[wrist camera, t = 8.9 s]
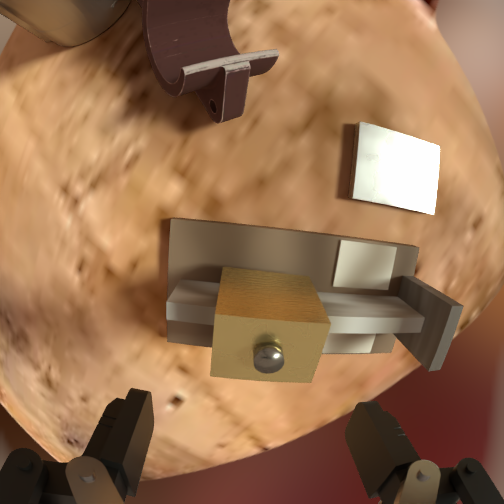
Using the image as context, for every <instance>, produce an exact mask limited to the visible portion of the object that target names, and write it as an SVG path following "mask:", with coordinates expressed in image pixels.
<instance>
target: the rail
mask: <svg viewBox="0 0 504 504" xmlns="http://www.w3.org/2000/svg"><path fill="white" fill-rule="evenodd" d="M418 253H419V247H416V246H414V245H407V244H400V243H393V242H386V241H379V240H372V239H364V238H357V237H349V236H341V235H333V234H326V233H317V232H309V231H301V230H292V229H283V228H275V227H266V226H256V225H247V224H237V223H227V222H217V221H207V220H196V219H185V218H172V219H171V223H170V239H169V258H168V290H167V302H166V319H167V342H172V343H179V344H187V345H195V346H203V347H212V344H213V332H214V320H215V311H216V305H217V299H218V293H219V287H220V281H221V275H222V270H223V267H231V268H239V269H248V270H257V271H265V272H274V273H284V274H293V275H302V276H309V277H310V279H311V281H312V283H313V286H314V288H315V290H316V292H317V294H318V296H319V298H320V300H321V303H322V305H323V307H324V309H325V311H326V313H327V316H328V318H329V320H330V322H331V326H330V330H329V333H328V336H327V339H326V342H325V345H324V348H323V351H322V354H371V353H391V352H392V349H393V346H394V343H395V340H396V338H397V339H398V340H399V341H400V342H401V343H402V344H403V345H404V346H405V347H406V348H407V349H408V350H409V351H410V352H411V353H412V354H413V355H414V356H415V358H416V359H417V360H418V361H419V362H420V363H421V364H422V365H423V366H424V367H425V368H426V369H427V370H428V371H434V370H440V368H441V366H442V364H443V361H444V359H445V356H446V354H447V351H448V349H449V346H450V344H451V341H452V338H453V336H454V333H455V330H456V327H457V324H458V321H459V318H460V315H461V312H462V309H463V305H461V304H459V303H458V302H456V301H455V300H453V299H451V298H450V297H448V296H446V295H445V294H443V293H441V292H440V291H438V290H436V289H434V288H433V287H431V286H429V285H428V284H426V283H424V282H422V281H421V280H419V279H417V278H416V277H414V272H415V267H416V262H417V258H418Z"/></svg>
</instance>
